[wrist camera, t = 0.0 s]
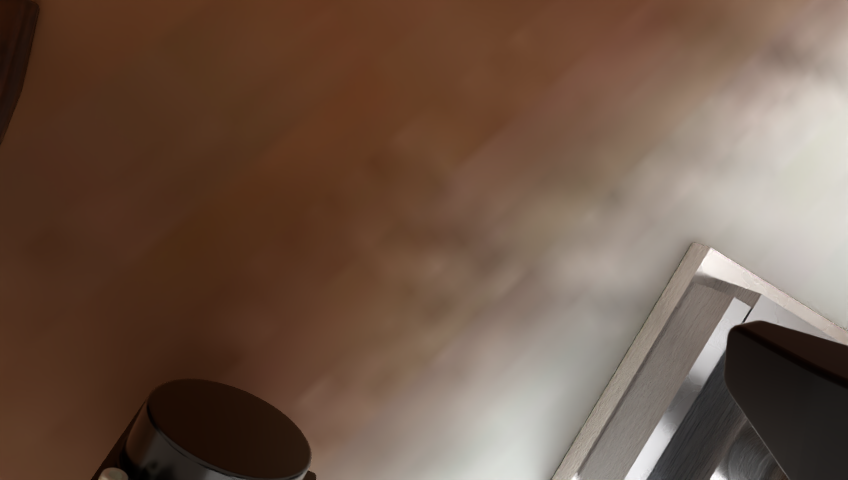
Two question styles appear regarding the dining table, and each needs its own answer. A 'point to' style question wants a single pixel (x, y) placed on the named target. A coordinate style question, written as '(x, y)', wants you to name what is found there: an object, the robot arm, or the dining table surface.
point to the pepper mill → (14, 52)
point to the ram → (716, 441)
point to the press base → (677, 363)
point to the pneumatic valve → (207, 438)
